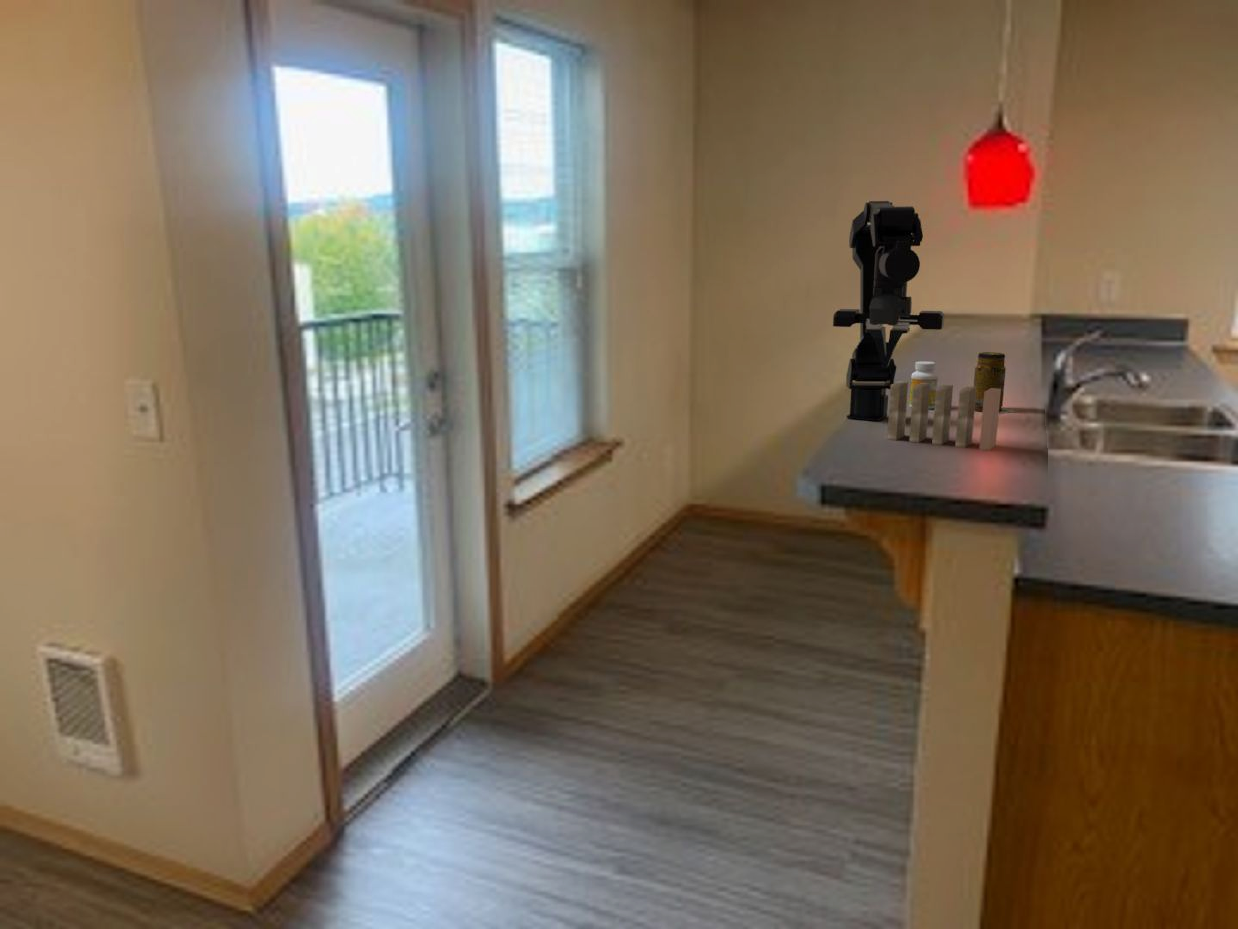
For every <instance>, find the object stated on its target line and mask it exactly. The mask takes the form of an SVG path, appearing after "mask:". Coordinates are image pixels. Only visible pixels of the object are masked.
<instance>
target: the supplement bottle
mask: <svg viewBox="0 0 1238 929" xmlns="http://www.w3.org/2000/svg"><path fill="white" fill-rule="evenodd" d="M914 369H915V371H914V372H912V373H911V377H910V392H909V402H908V403H909V404H908V405H909V408H912V395H913V386H915V385H918V384H920V383H930V394H929V408H928V410H932V409H935V396H936V388H938V373H936V372H934V370H935V369H936V363H935V362H934V361H927V360H926V361H924V360H923V361H916V362H915V366H914Z"/></svg>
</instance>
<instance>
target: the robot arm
mask: <svg viewBox="0 0 1238 929" xmlns="http://www.w3.org/2000/svg"><path fill="white" fill-rule="evenodd" d="M921 220H922V219H920V218H919V214H918V212H916V209H915V208H914V206H912V205H911V206H910V205H909V206H908V205H907V206H895V205H893V202H891V201H889V200H870V201H868V202H865V204H864V207H863V210H862V211H861V212H860V213H859V214H858V215H856V217H855V218H854V219H852V222H851V225H850V226H851V227H850V231H849V239H848V242H849V243H848V245H849V249H851V251H852V252H851V254H852V260H853V261H854V263H855V265H856V266H857V268H858V270H859V272H860V275H859V276H860V277H859V278H860V280H859V281H860V290H859V292H860V293H859V296H860V297H859V298H860V300H859V301H860V302H859V304H860V308H840V309H838V310H837V311H835V313H834V314H833V318H832V320H833V321H832V323H833V324H832V327H836V328H837V327H839V328H840V327H841V328H851V327H852V326H854V325H856V324H860V325H859V326H860V329H859V332H860V335H859V336H860V337H859V342H858V344H857V345H856V346H855V348H854V350H853V352H852V355H851V358H849V362H848V366H847V372H846V374H845V375H846V379H845V381H846V385H845V386H846V387H847V388H848V389H849V390H850V403H849V404H850V406H849V414H847V415H846V418H847V419H854V418H855V420H865V421H874V422H875V421H876V422H877V421H880V420H882V419H884V418H886V417H887V416H888V409H889V408H888V406H889V405H888V404H889V395H888V394H887V390H890V388H891V384H894V383H895V376H896V372H897V365H896V364H895V360H894V358H893V355H894V352H895V350H896V347H897V345H898V343H899V341H900V340H901V337H902V335H904V334H908V333H909V332H910V331H911V328H910V326H919V327H920V328H921V329H922V330H934V331H936V330H938V331H939V330H942V329H943V327H944V324H945V323H944V322H945V313H944V312H942V310H921V311H920V312H919V313H918V314H912V304H913V303H912V302H913V301H912V296H907V295H908V294H907V292H908V282H910V281H912V280H913V279H914V278H915V277H916V276H917V275H918V273H919V271H920V267H921V261H920V258H919V256H918V254H917V253H916V252H915V251H914V250H913V249H912V247H921V243H922V242H923V238H924V235H923V229H922V221H921ZM868 223H870V224H868ZM884 325H888V326H892V328H891V329H890V330H889V338H888V342H887V337H886V336H887V333H886V332H887V331H886V326H884ZM853 381H855V382H853Z"/></svg>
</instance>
